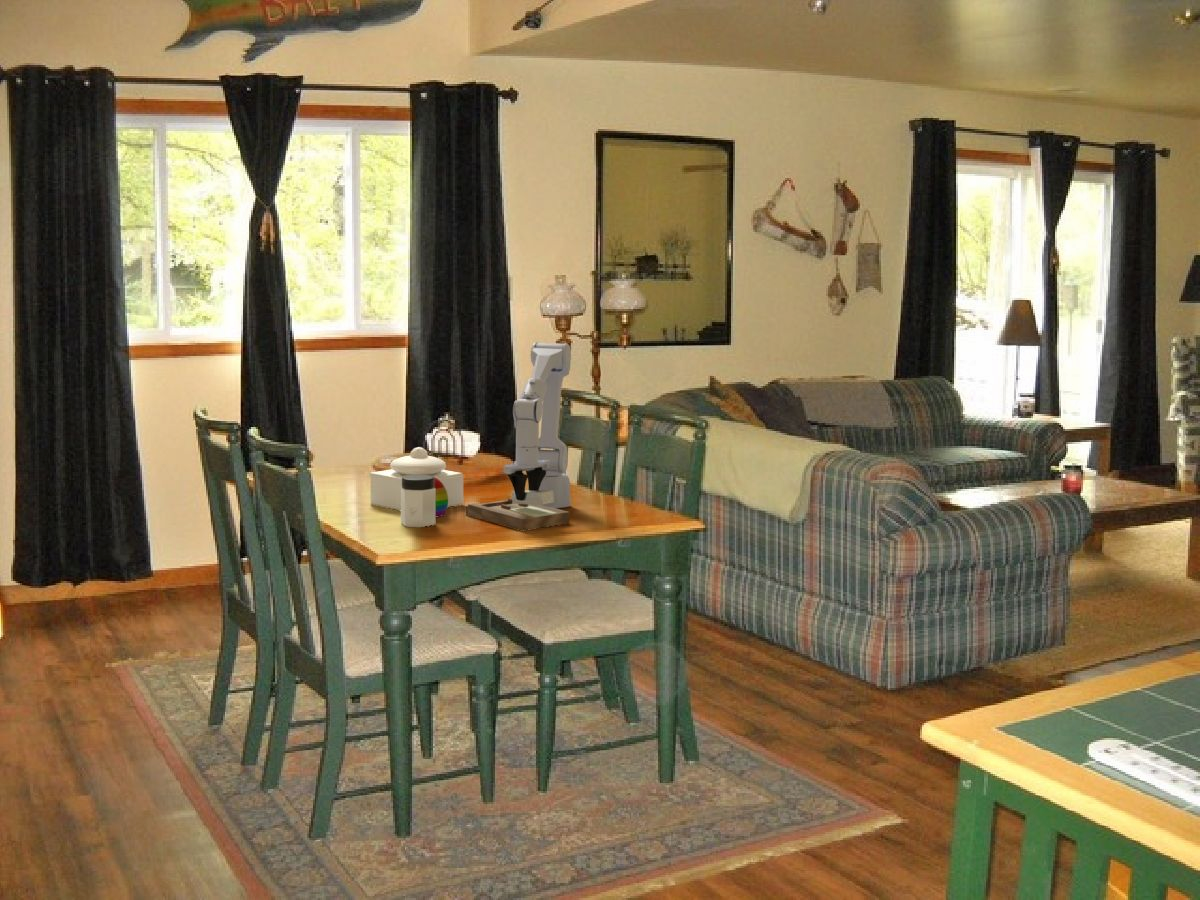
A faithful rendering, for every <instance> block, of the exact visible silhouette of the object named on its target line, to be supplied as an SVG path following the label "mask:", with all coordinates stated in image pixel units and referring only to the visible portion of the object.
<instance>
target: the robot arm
mask: <svg viewBox="0 0 1200 900" xmlns="http://www.w3.org/2000/svg"><path fill="white" fill-rule="evenodd" d="M571 349H572V348H571V347H570V345H569V343H566V342H565V343H557V342H556V343H551V342H537V341H535V342H534V343H533V344H532V345H531V349H530V362H531V364H532V366H533V370H532V375H531V378H528V379H527V380H526V381H525V383H524V386H523V389H522V391H521V393H520V397H519V398H518V399H517V400H516V399H515V401H514V403H513V407H512V415H513V416H512V417H513V421H514V422H513V424H514V425H513V426H514V428H515V460H514V461H513V463H510V464H506V465H503V474H505V475H507V476H508V479H509V481H510V483H511V485H512V488H513V492H515V495H516V499H517V500H521V501H523V500H524V496H525V490H526V484H527V483H528V490H547V491H553V496H554V503H548V504H543V505H544V506H548V507H552V508H555V509H561V508H569V507H572V506H573V504H572V503H571V481H570V478H569V476H568V475H567V474H566V473H565V472H566V471H567V469H568V463H569V461H568V459H569V458H568V447H567V445H566V444H565V442H563V441H562V440H561V439H560V438H559V429H560V427H559V425H560V413H561V402H562V401H561V400H562V399H561V398H562V386H563V382H564V378H565V377H567V376H569V375H570V372H571V361H572V351H571ZM540 422H541V424H540ZM539 426H540V427H539ZM539 430H540V431H539ZM539 432H540V433H539ZM539 435H540V436H539ZM524 472H525V473H524ZM540 505H542V504H540Z"/></svg>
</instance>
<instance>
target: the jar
mask: <svg viewBox="0 0 1200 900" xmlns="http://www.w3.org/2000/svg"><path fill="white" fill-rule="evenodd" d="M436 518H437V517H436V489H435V488H434V477H433V476H431V475H422V474H415V475H406V476H403V477H402V487H401V511H400V524H402V525H403V526H404V527H405V526H406V527H405V528H421V527H423V528H426V527H425V526H427V527H430V525H432V526H435V525H436V521H437V520H436ZM434 524H435V525H434Z"/></svg>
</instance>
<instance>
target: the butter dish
mask: <svg viewBox="0 0 1200 900" xmlns="http://www.w3.org/2000/svg"><path fill="white" fill-rule="evenodd" d="M389 466H390V469H386V470H379V471H373V472H369V476H370V478H369V479H370V506H374V505H376V506H375V507H378V506H381V507H380V508H383V507H386V508H385V509H388V508H391V509H390V510H392V509H396V510H395V511H397V510H401V487H402V477H403V476H406V475H415V474H422V475H431V476H433V477H435V478H437V479H439V480H440V481H441V482H442V484H443V485H444V487H445V489H446V491H447V495H448V506H447V507H449V506H454V505H460V504H463V505H464V476H463V472H457V471H452V470H446V468H447V463H446V462H445V461H444V460H442V459H441V458H438V457H436V456H431V455H428V451H427V449H425V448H423V447H422V446H421V447H420V446H418V447H414V448H413V449H412V450H411V451H410V454H409V455H405V456H402V457H398V458H396V459H394V460H392V461H391V463H390V464H389ZM460 506H461V505H460Z"/></svg>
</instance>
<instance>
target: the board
mask: <svg viewBox="0 0 1200 900" xmlns="http://www.w3.org/2000/svg"><path fill="white" fill-rule="evenodd" d="M529 506H533V507H537V508H541V509H544V510H548V511H552V512H556V513H557V514H554V515H547V516H541V517H532V516H528V515H525V514H521V513H517V512H514V511H510V509H515V508H522V507H529ZM467 515H469V516H468V517H471V516H472V517H471V518H474V517H476V518H475V519H478V518H480V519H479V520H481V519H483V520H482V521H485V520H487V521H486V522H488V521H491V522H490V523H492V522H494V523H493V524H495V523H498V524H497V525H499V524H501V525H500V526H502V525H505V526H504V527H506V526H508V527H507V528H509V527H511V528H510V529H513V528H515V529H514V530H516V529H519V530H518V531H520V530H522V531H521V532H524V531H523V530H527V531H529V530H528V529H533V530H536V529H535V528H539V529H541V528H540V527H545V528H548V527H547V526H552V527H554V526H553V525H558V526H561V525H560V524H564V525H567V524H566V523H569V524H570V511H568V510H567V511H566V510H564V509H563V510H562V509H560V508H556V509H555V508H552V507H548V506H544V505H540V504H512V497H511V498H507V499H506V500H499V501H498V500H497V501H492V502H484V503H478V504H477V503H468V504H467V505H465V516H467Z"/></svg>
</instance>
